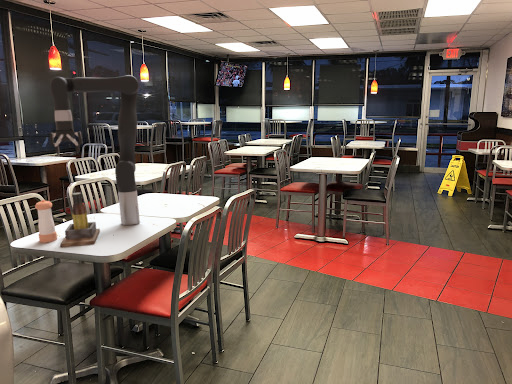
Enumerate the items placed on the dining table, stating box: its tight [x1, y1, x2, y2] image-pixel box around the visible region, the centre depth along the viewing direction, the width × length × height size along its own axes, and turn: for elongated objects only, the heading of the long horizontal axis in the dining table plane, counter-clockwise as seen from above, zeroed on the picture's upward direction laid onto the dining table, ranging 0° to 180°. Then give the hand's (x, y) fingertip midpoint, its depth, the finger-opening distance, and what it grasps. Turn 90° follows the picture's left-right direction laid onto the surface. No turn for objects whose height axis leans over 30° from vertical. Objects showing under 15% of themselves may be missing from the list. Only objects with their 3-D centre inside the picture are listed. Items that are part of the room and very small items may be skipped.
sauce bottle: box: [71, 192, 89, 230], centre depth 189 cm, size 7×6×20 cm
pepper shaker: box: [34, 199, 58, 244], centre depth 187 cm, size 7×7×19 cm
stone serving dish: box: [59, 221, 101, 248], centre depth 189 cm, size 14×20×6 cm
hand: (67, 153), depth 199 cm, fingers open, 8 cm apart
